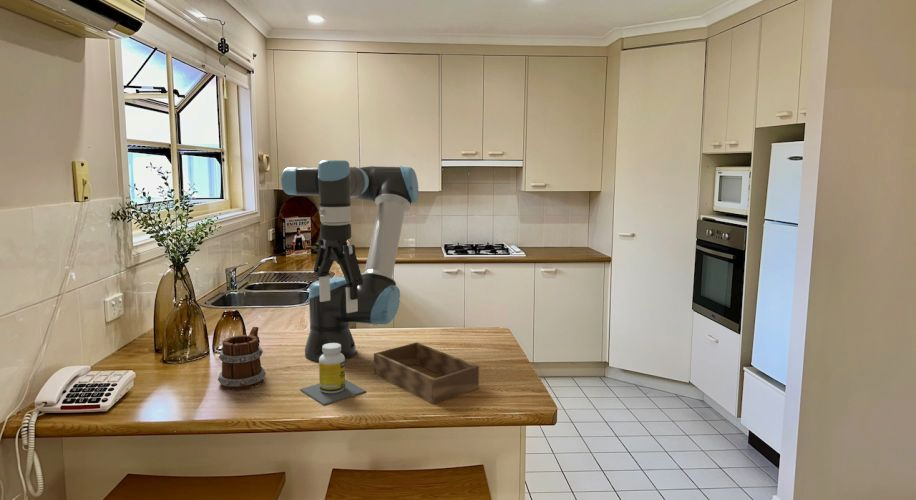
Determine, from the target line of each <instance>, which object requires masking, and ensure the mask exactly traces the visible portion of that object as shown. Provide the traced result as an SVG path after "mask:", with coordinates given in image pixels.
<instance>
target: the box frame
mask: <svg viewBox="0 0 916 500" xmlns="http://www.w3.org/2000/svg"><path fill="white" fill-rule="evenodd" d="M412 365H418V366H421V367H423V368H426V369H428V370H430V371H433V372H434V373H437V374H440V375H441V376H439V377H435V378H434V376H430V375H428V374H426V373H424V372H421V371H419V370H418V369H415V368H412V367H410V366H412ZM479 371H480V366H479V365H477V364H473V363H471V362H469V361H467V360H464V359H461V358H458V357H455V356H453V355H450V354H448V353H445V352H443V351H440V350H437V349H435V348H432V347H429V346H427V345H424V344H422V343H420V342H417V341H416V342H413V343H408V344H405V345H401V346H398V347H397V346H396V347H393V348H390V349H385V350H382V351H379V352H374V353H373V374H374V376H377V377H379V378H380V379H383V380H385V381H386V382H389V383H391V384H393V385H395V386H397V387H399V388H400V389H402V390H405V391H407V392H408V393H411V394H413V395H415V396H417V397H419V398H421V399H423V400H425V401H426V402H429V403H431V404H433V405H437V404H439V403H441V402H445V401H447V400H451V399H453V398H456V397H459V396H461V395H464V394H466V393H470V392H472V391H475V390H478V389H479V381H480V379H479V377H480V376H479Z"/></svg>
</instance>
